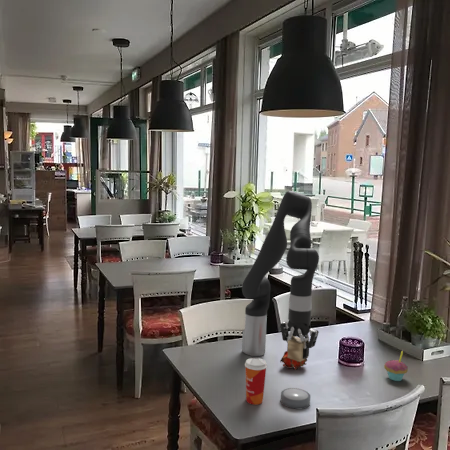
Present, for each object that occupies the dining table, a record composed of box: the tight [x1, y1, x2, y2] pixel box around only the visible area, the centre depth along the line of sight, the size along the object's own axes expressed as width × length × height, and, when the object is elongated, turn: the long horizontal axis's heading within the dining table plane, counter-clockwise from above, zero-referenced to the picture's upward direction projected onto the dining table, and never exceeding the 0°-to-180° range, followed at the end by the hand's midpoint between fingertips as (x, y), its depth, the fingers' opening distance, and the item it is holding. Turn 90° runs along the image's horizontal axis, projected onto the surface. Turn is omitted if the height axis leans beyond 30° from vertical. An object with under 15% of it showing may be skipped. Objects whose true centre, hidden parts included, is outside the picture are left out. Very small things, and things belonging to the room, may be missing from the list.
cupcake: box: [383, 349, 409, 382], centre depth 189 cm, size 9×8×12 cm
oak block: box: [287, 336, 309, 362], centre depth 166 cm, size 5×5×6 cm
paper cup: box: [244, 357, 268, 406], centre depth 167 cm, size 8×8×14 cm
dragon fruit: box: [279, 350, 308, 371], centre depth 197 cm, size 8×8×12 cm
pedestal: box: [280, 387, 311, 409], centre depth 168 cm, size 10×10×3 cm
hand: (297, 355), depth 167 cm, fingers closed on oak block, 5 cm apart
